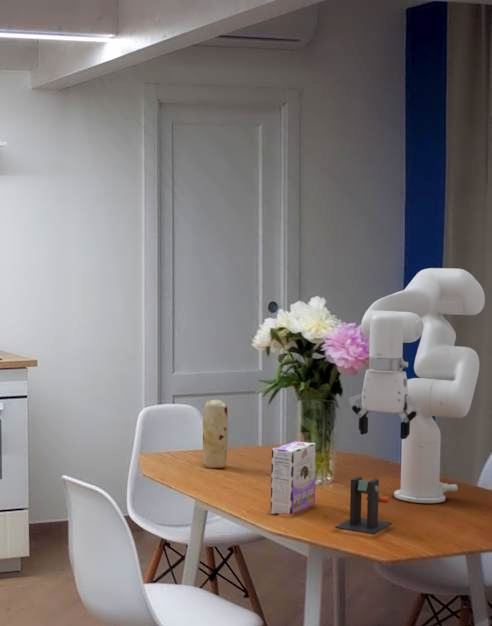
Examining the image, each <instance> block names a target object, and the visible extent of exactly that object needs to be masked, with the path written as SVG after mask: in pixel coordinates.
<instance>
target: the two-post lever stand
mask: <svg viewBox="0 0 492 626" xmlns="http://www.w3.org/2000/svg"><path fill="white" fill-rule="evenodd" d="M359 480H363V477H362V476H356V477H354V478H351V479H350V498H349V499H350V500H349V501H350V502H349V503H350V505H349V519H347V520H345V521H344V522H341V523H339V524H338V525H336V526H335V527H334V528H335V529H338V530H344V531H345V530H346V531H350V532H356V533H363V534H367V535H376V534H377V533H379V532H381V531H383V530H384V529H386V528H388V527H389V526H391V525H392V524H393V523H392V522H389V521H383V520H379V502H378V496H379V494H380V493H379V489H380V479H379V478H374V479H370V480H368V481H369V482H368V494H367V495H368V500H367V506H366V507H367V509H366V518H365V517H362V494H363V493H360V492H359V491H358V490H357V488H358V483H359Z"/></svg>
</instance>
